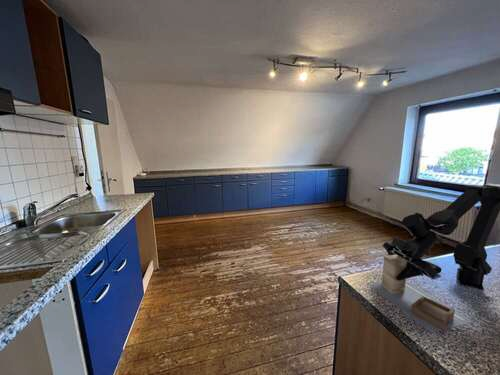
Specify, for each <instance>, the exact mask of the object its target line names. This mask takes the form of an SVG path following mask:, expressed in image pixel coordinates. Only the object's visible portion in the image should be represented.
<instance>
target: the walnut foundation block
mask: <svg viewBox="0 0 500 375" xmlns="http://www.w3.org/2000/svg"><path fill="white" fill-rule="evenodd" d="M449 307H450V306H449ZM449 307H446V306H444V305H442V304H440V303H438V302H435V301H433V300H431V299H429V298H426V297H424V296H422V297H421V298H420V299H418V300H417V301H416V302H415V303H413V304H412V305H411V313H412V314H414V315H415V316H417V317H419V318H421V319H423V320H425V321H427V322H429V323H431V324H432V325H434V326H436V327H438V328H440V329H442V330H441V331H444V330H443V329H444V328H445V327H446V326H447V325H448V324H449V323H450V322H451V321H452V320H453V318H454V311H455V309H454V310H453V308H452V307H451V308H452V309H451V308H449Z"/></svg>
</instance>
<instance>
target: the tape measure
mask: <svg viewBox="0 0 500 375" xmlns="http://www.w3.org/2000/svg"><path fill="white" fill-rule="evenodd" d="M425 261H426V262H427V263H429V264H430V265H431V266H432V267H433V268H434V269H435V270H436V271H437V274H440V273H441V272H442V269H443V268H442V267H440V266H439V265H437V264H435V263H433V262H430V261H427V260H425ZM437 274H436V275H437Z"/></svg>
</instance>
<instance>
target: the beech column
mask: <svg viewBox="0 0 500 375" xmlns="http://www.w3.org/2000/svg"><path fill="white" fill-rule="evenodd" d="M406 265H407V261H406V260H405V259H403V258H401V257H400V256H398V255H388V254H387V255H384V256H383V266H382V274H381V275H382V278H381V282H382V286H383V287H384V288H385V289H386V290H387V291H389V292H390V293H391V294H396V293H404V291H405V281H407V279H403V280H400V281H398V280H397V279H396V278H397V276H398V275H399V274H400V273H401V272H402V271H403V270H404V269H405V268H406Z"/></svg>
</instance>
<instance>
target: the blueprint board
mask: <svg viewBox="0 0 500 375" xmlns="http://www.w3.org/2000/svg"><path fill="white" fill-rule="evenodd" d="M367 285H368V286H369V287H371V288H372V289H373V290H375V291H376V292H377V293H378V294H380V295H381V296H383V297H384V298H385V299H386V300H388V302H390V303H391V304H393V305H394V306H396V307H397V308H398V309H399V310H401V311H402V312H403V313H404V314H406V315H408V316H409V317H410V318H412V319H413V320H414V321H415V322H417V323H418V324H419V325H421V326H422V327H423V328H425V329H426V330H428V331H429V332H430V333H431V334H432V333H433V334H434V333H436V332H440V331H445V330H449V329H452V328H455V327H460V326H464V325H467V324H471V323H474V322H475V321H473V320H472V319H470V318H469V317H467V316H465V315H464V314H462V313H460V312H459V311H457V310H455V309H453V307H451V306H448V305H447V304H446V303H444V302H442V301H440V299H437V298H435V297H434V296H433V295H430V294H429V293H427V291H424V290H422V289H420V288H419V287H418V286H416V285H414V284H412V283H410V282H409V281H407V280H406V281H405V291H404V293H396V294H391V293H390V292H389V291H387V290H386V289H385V288H384V287H383V286H382V281H377V282H372V283H367ZM422 296H424V297H426V298H429V299H431V300H433V301H435V302H438V303H440V304H442V305H444V306H446V307H449V308H451V309H453V310H455V311H454V318H453V320H452V321H451V322H450V323H449V324H448V325H447V326H446V327H445V328H444V329H443V330H442V329H440V328H438V327H436V326H434V325H432V324H431V323H429V322H427V321H425V320H423V319H421V318H419V317H417V316H415V315H414V314H412V313H411V305H412V304H413V303H415V302H416V301H417V300H418V299H420V298H421V297H422Z"/></svg>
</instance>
